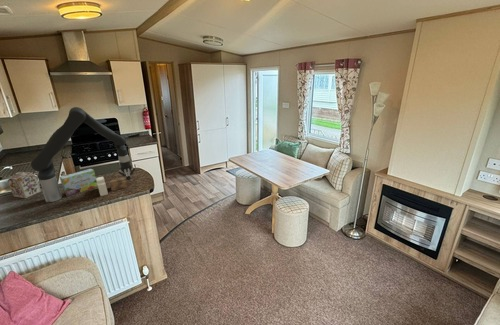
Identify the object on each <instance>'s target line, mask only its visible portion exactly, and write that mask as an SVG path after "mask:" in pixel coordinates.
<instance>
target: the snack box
mask: <svg viewBox="0 0 500 325" xmlns="http://www.w3.org/2000/svg"><path fill="white" fill-rule="evenodd" d="M96 178H97V177H96V173H95V170H94V169H92V168H88V169H84V170H81V171H77V172H73V173H70V174H66V175H65V174H64V175H63V176H62V175H61V176H60V177H59V180H60V183H61V187H62V189H63V190H62V191H63V193H64V195H66V197H70V196H73V195H76V194H79V192H80V193H83V192H86V191H88V190H91V189H94V188H98V184H97V180H96Z"/></svg>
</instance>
